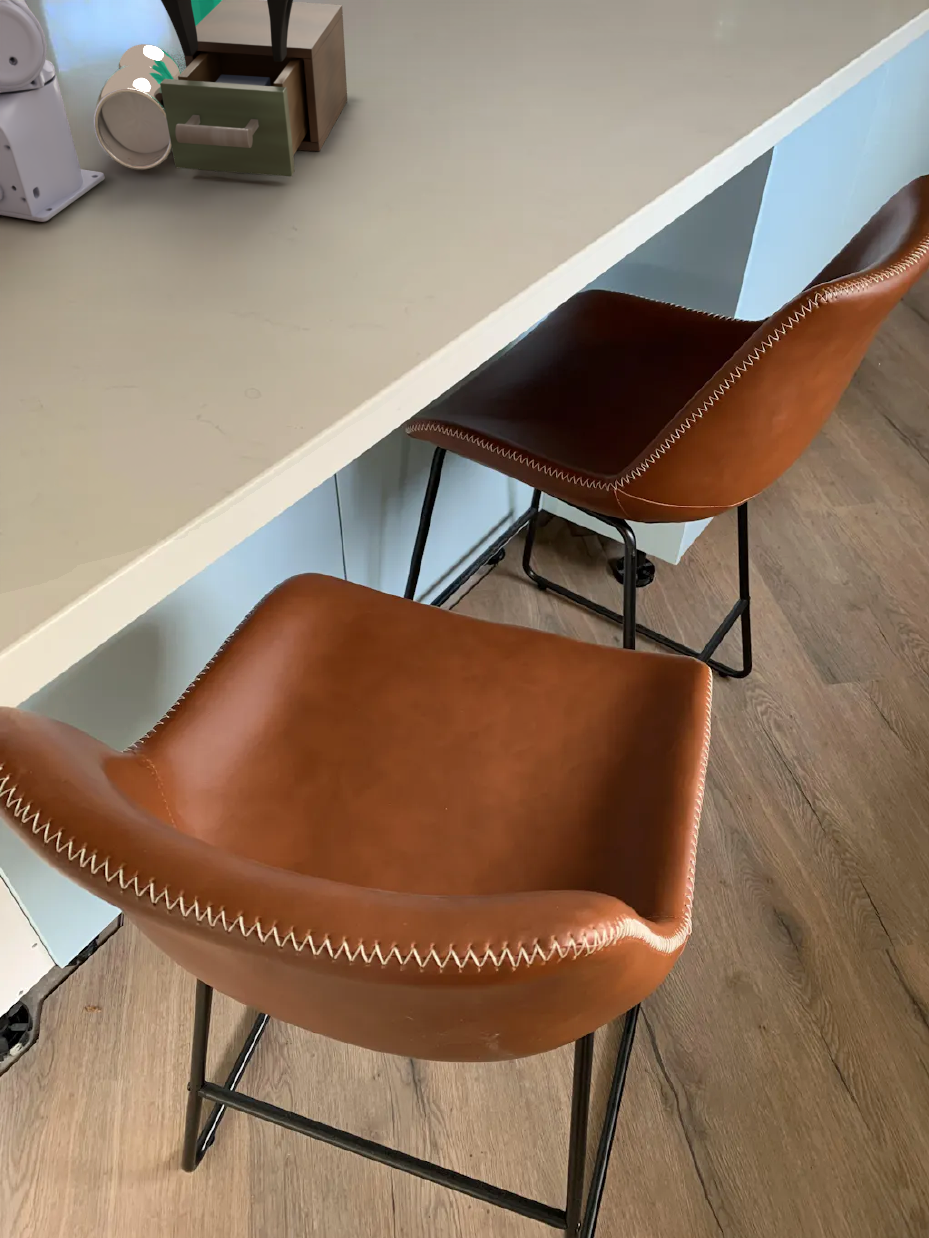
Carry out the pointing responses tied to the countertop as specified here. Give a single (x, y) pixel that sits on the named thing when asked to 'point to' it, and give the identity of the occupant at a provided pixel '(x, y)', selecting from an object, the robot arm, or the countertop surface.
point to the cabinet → (288, 52)
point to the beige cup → (136, 109)
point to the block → (244, 80)
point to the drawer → (237, 114)
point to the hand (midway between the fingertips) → (235, 55)
